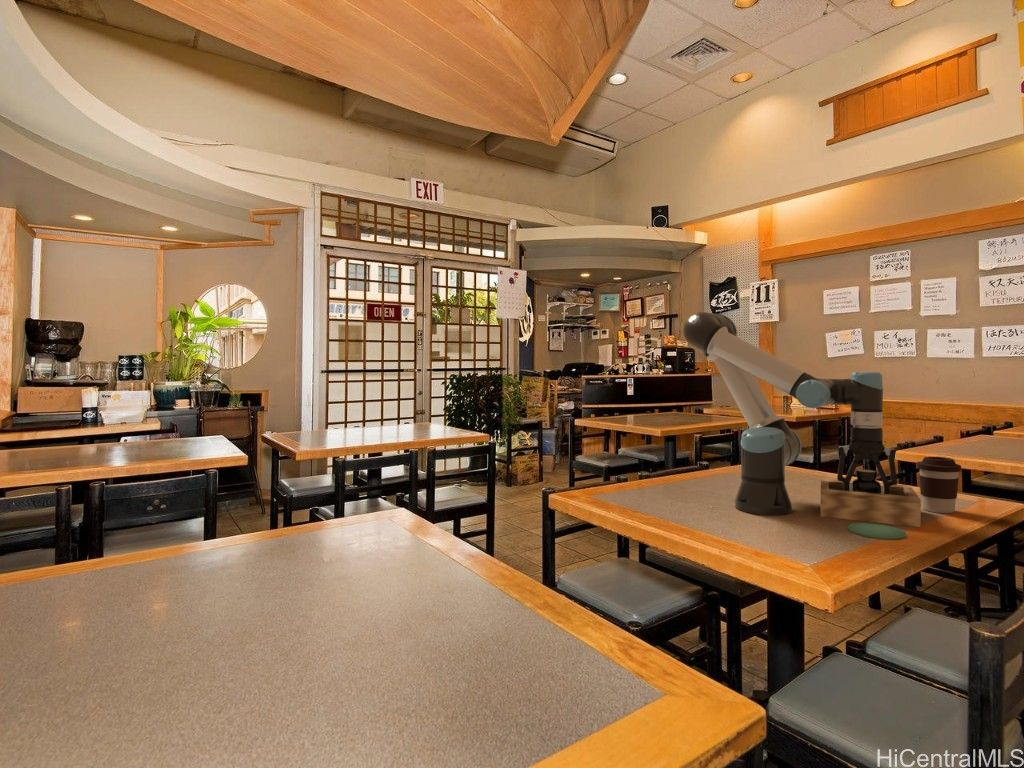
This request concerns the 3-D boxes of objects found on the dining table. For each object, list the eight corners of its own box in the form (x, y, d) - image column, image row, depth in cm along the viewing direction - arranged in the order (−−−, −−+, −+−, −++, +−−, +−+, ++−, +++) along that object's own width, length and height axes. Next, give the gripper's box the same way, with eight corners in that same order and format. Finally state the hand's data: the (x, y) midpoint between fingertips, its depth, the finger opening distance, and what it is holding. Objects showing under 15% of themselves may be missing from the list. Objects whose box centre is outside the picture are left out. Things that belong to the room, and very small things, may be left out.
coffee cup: (944, 506, 160) (945, 455, 160) (969, 515, 151) (970, 461, 150) (908, 505, 161) (909, 455, 161) (931, 514, 151) (931, 461, 151)
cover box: (820, 516, 152) (820, 491, 151) (820, 501, 168) (820, 478, 168) (920, 526, 140) (920, 499, 140) (910, 509, 157) (910, 485, 157)
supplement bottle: (886, 516, 151) (886, 473, 151) (861, 516, 151) (861, 473, 151) (870, 509, 158) (870, 468, 157) (846, 509, 158) (846, 468, 158)
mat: (849, 535, 134) (849, 533, 134) (847, 523, 145) (847, 520, 145) (909, 542, 128) (909, 540, 128) (902, 529, 139) (902, 526, 139)
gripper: (826, 426, 155) (826, 506, 156) (911, 429, 146) (910, 515, 146) (826, 424, 162) (826, 501, 163) (907, 426, 152) (907, 508, 153)
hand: (866, 507), depth 154 cm, fingers closed on supplement bottle, 7 cm apart
